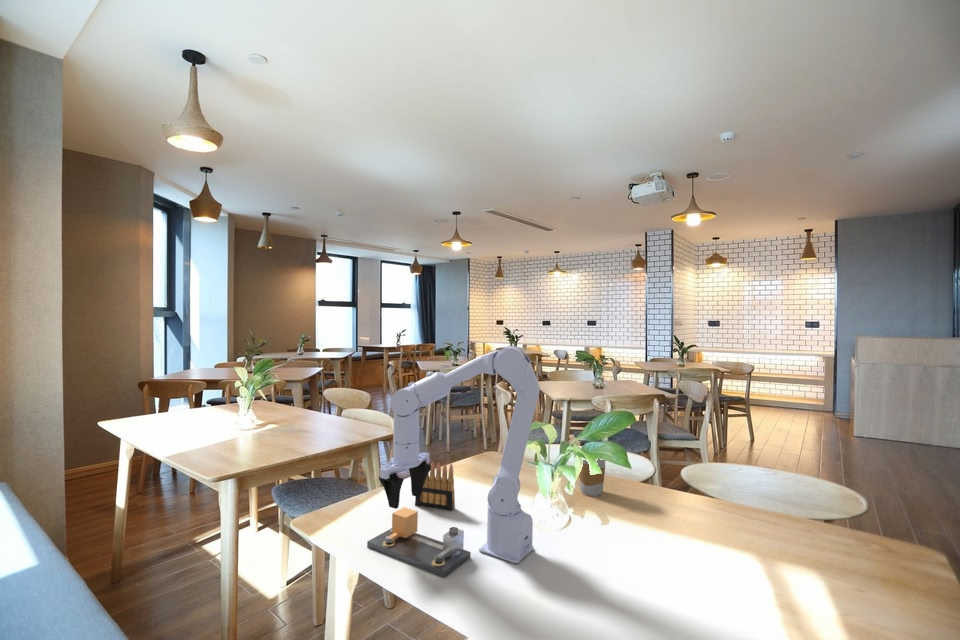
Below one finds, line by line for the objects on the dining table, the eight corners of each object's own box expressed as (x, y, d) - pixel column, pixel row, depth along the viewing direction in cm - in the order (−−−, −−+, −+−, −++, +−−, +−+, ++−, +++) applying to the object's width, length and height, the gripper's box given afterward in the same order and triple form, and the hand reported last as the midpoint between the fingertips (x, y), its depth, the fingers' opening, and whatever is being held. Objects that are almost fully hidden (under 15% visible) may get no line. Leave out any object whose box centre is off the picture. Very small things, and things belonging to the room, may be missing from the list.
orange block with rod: (417, 531, 104) (417, 511, 104) (392, 545, 97) (393, 524, 97) (404, 526, 106) (404, 507, 106) (379, 540, 99) (379, 519, 99)
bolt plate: (470, 557, 96) (470, 529, 96) (444, 577, 88) (445, 546, 88) (395, 531, 107) (396, 505, 107) (367, 546, 100) (367, 519, 100)
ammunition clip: (454, 508, 121) (455, 463, 121) (452, 511, 119) (453, 465, 119) (417, 503, 124) (418, 458, 124) (414, 505, 122) (415, 460, 122)
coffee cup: (609, 491, 135) (610, 440, 135) (601, 500, 128) (602, 446, 128) (582, 485, 139) (583, 435, 139) (572, 493, 132) (573, 442, 132)
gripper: (413, 432, 111) (413, 487, 111) (369, 445, 99) (368, 508, 99) (436, 436, 108) (436, 494, 108) (393, 451, 95) (393, 516, 95)
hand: (405, 501), depth 103 cm, fingers open, 7 cm apart
